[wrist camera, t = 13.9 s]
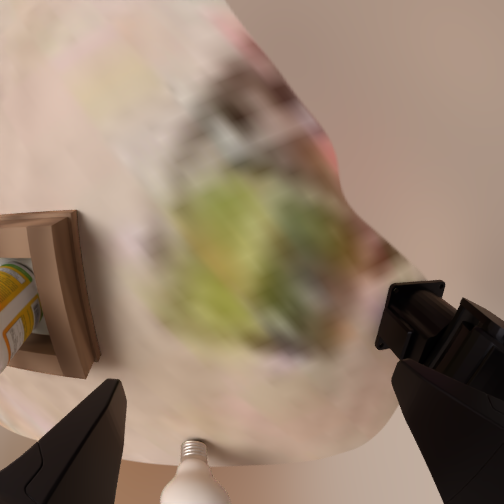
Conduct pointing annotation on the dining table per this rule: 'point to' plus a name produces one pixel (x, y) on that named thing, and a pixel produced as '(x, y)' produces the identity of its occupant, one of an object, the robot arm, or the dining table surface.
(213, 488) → the lightbulb
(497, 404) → the robot arm
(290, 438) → the dining table surface
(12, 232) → the pocket block
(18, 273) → the supplement bottle
